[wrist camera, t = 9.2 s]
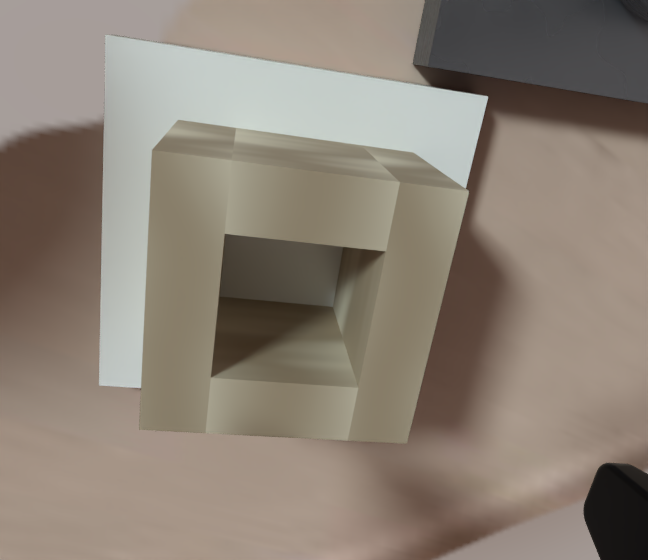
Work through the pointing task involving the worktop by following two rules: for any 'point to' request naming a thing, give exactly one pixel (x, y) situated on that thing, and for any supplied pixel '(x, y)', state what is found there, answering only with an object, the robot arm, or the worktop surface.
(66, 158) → the worktop surface
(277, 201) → the collar
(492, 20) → the post stand
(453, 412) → the worktop surface
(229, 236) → the tile pad
